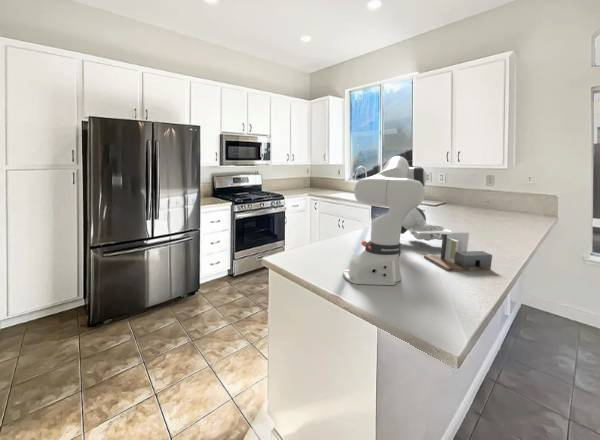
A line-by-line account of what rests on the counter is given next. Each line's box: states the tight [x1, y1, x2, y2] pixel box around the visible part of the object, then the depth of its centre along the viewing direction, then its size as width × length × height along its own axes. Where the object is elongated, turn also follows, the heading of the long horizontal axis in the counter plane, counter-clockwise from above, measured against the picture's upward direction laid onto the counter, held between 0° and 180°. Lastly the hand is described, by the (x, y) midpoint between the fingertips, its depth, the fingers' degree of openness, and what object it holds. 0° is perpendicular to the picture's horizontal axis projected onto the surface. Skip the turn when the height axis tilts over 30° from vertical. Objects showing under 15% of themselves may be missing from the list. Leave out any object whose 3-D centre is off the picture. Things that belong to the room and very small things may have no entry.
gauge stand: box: [423, 237, 493, 272], centre depth 143 cm, size 20×19×11 cm
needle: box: [440, 234, 447, 259], centre depth 145 cm, size 1×1×12 cm
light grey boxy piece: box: [440, 231, 470, 252], centre depth 143 cm, size 14×12×11 cm
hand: (441, 238), depth 161 cm, fingers closed
